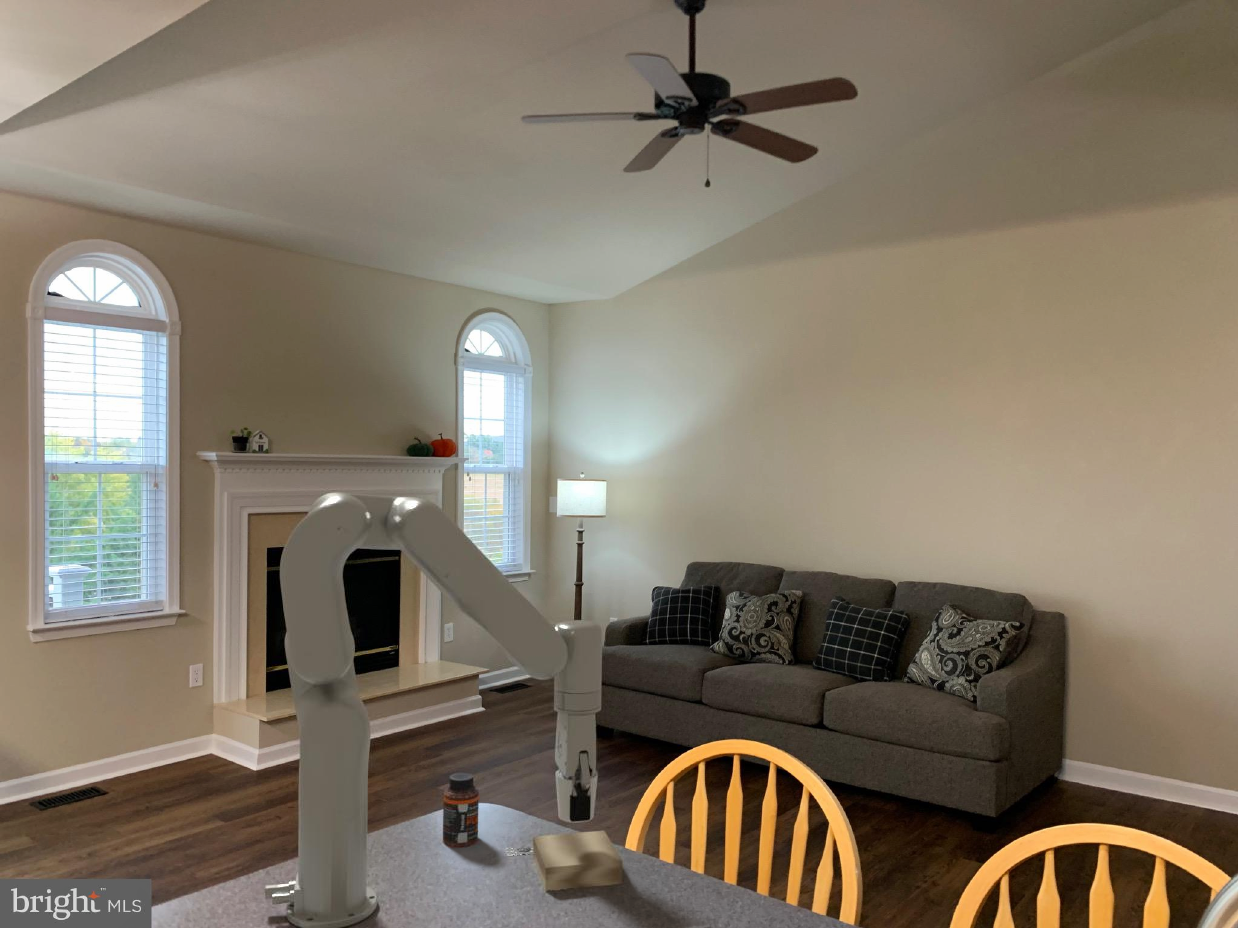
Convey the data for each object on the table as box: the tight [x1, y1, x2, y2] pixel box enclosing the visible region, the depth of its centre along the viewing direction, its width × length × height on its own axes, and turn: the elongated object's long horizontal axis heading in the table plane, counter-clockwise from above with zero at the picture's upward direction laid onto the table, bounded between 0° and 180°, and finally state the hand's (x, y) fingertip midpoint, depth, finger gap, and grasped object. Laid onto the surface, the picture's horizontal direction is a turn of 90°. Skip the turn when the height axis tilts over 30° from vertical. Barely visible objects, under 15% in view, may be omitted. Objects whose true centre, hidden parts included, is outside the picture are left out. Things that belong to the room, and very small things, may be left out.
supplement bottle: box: [442, 772, 480, 848], centre depth 161 cm, size 6×6×11 cm
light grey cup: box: [555, 768, 599, 824], centre depth 150 cm, size 7×7×7 cm
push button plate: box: [505, 845, 533, 857], centre depth 157 cm, size 6×4×1 cm, turn 104°
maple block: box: [532, 830, 623, 892], centre depth 150 cm, size 12×12×4 cm
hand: (576, 811), depth 150 cm, fingers closed on light grey cup, 5 cm apart
